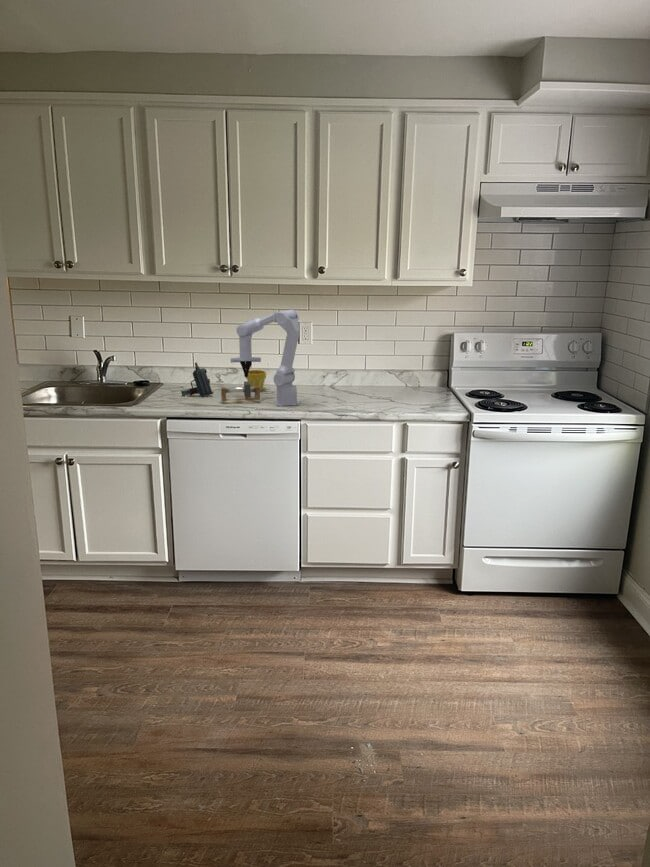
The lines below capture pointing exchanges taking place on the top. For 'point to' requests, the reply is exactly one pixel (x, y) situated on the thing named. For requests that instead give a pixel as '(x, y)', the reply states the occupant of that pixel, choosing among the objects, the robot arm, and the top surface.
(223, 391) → the pipe stand
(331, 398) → the top surface
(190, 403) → the top surface
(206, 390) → the gun
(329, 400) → the top surface
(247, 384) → the collar
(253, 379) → the plant pot
